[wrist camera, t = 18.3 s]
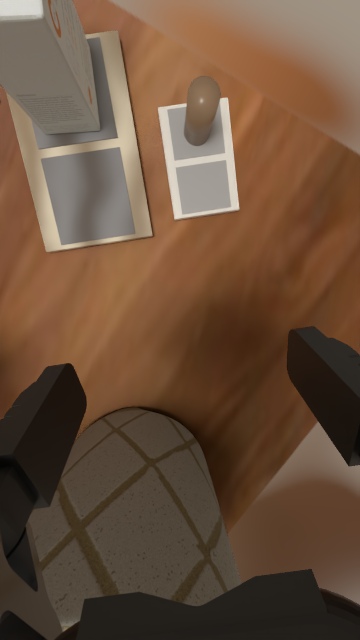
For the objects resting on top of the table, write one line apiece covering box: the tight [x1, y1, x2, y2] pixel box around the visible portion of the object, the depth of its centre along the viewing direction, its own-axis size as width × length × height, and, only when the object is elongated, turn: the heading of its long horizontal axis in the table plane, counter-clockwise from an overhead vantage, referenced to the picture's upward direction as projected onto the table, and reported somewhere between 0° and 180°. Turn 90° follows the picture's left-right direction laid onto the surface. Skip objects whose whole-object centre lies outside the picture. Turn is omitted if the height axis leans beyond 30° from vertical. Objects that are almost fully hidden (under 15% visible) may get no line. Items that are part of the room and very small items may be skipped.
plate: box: [158, 76, 239, 221], centre depth 27 cm, size 8×12×7 cm, turn 9°
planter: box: [28, 407, 241, 632], centre depth 26 cm, size 23×23×24 cm
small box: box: [0, 0, 100, 135], centre depth 21 cm, size 8×6×13 cm
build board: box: [6, 30, 153, 253], centre depth 29 cm, size 13×21×1 cm, turn 9°
